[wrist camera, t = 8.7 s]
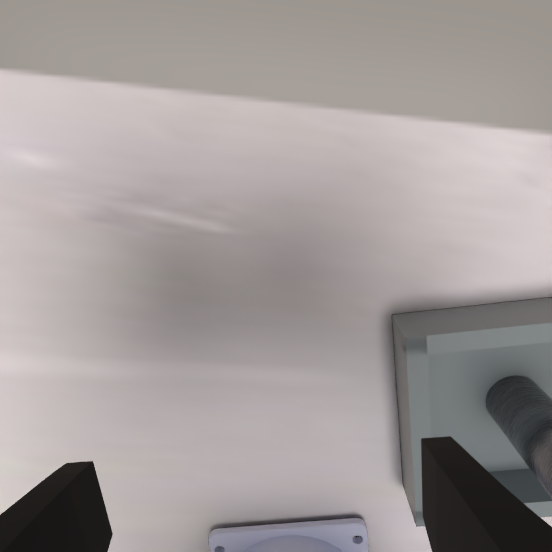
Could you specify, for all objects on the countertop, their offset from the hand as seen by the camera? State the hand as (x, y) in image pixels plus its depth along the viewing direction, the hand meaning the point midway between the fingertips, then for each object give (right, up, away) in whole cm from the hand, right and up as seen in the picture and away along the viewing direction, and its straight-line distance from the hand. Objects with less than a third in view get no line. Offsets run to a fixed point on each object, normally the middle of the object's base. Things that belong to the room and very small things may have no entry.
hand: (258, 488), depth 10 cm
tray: (+11, -1, +11) cm, 15 cm away
